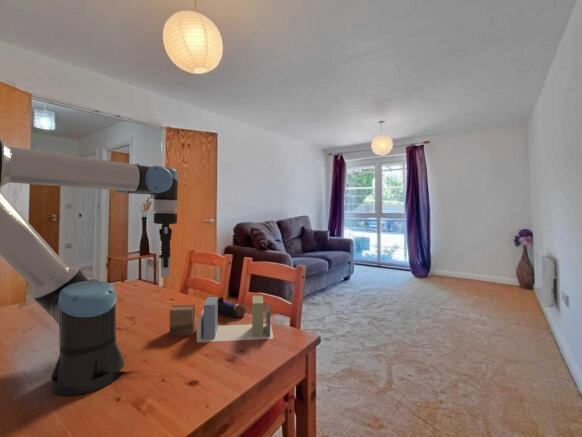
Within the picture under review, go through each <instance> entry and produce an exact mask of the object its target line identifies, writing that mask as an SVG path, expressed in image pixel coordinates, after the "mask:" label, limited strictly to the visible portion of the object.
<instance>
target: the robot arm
mask: <svg viewBox="0 0 582 437" xmlns="http://www.w3.org/2000/svg"><path fill="white" fill-rule="evenodd" d="M9 183H12V184H24V185H39V186H54V187H68V188H83V189H94V190H96V189H97V190H110V191H116V192H117V193H120V194H126V195H128V194H133V195H135V194H136V195H153V212H154V214H153V223H154V224H155V225H161V227H160V228H159V230H158V231H159V232H158V233H159V234H158V235H159V240H160V243H161V246H160V254H159V255H158V259H160V279H161V278H163V279H164V278H170V277H171V252H172V251H171V240H172V233H173V229H172V228H171V227H170V225H176V224H178V213H176V212H177V211H178V206H180V203H178V188H179V187H178V183H179V176H178V171H177V170H176V169H175V168H173V167H172V168H171V167H168V166H167V167H165V166H161V165H152V166H148V165H141V164H133V163H126V162H120V161H113V160H107V159H100V158H99V159H98V158H92V157H85V156H83V157H82V156H77V155H71V154H63V153H56V152H50V151H49V152H48V151H42V150H35V149H28V148H21V147H16V146H15V147H13V146H9V145H8V144H7V143H6V142H5V141H3V140H0V257H1V258H3V259H4V260H5V261H6V262H7V264H9V266H11V267H12V269H14V270H15V271H16V272H17V273H18V274H19V276H20V277H22V278H23V279H24V280H25V281H26V282H27V283H28V284H29V285H30V286H31V287H32V290H31V291H32V292H31V298H32V299H33V300H35V302H36V303H37V304H39V305H40V306H41V307H42V308H43V309H44V310H45V311H46V313H47V314H48V315H49V316H51V317H52V319H53V320H54V321H55V322H56V324H57V325H58V329H59V355H58V358H57V360H56V363H55V365H54V368H53V370H52V373H51V377H50V391H51V392H52V393H53V394H55V395H58V396H63V397H65V396H66V397H68V396H79V395H83V394H88V393H92V392H94V391H97V390H100V389H102V388H104V387H106V386H107V385H111V383H113V382H114V381H115V380H117V379H119V378H120V376H121V375H122V374H123V373H124V371H121V370H122V369H123V368H124V366H125V362H124V360H125V359H124V357H123V354H122V352H121V350H120V348H119V345H118V342H117V316H116V315H117V301H118V300H117V294H116V289H115V287H114V285H113V284H112V283H110V282H107V281H100V280H89V279H88V277H86V275H84V273H83V272H82V271H81V270H80V268H78V267H77V266H69V265H67V264H66V263H65V261H63V259H62V258H61V257H60V256H59V255H58V254H57V253H56V252H55V250H54V249H53V248H52V247H51V246H50V245H49V243H48V242H47V241H46V240H45V239H44V238H43V237H42V236H41V235H40V233H38V231H37V230H36V229H35V228H34V227H33V226H32V225H31V223H29V222H28V220H27V219H26V218H25V217H24V216H23V215H22V214H21V212H20V211H19V210H18V209H17V208H16V207H15V206H14V205H13V203H12V202H11V201H10V200H9V199H8V198H7V197H6V196H5V194H4V193H3V192H2V187H3V186H5V185H7V184H9Z"/></svg>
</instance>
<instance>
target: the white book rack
mask: <svg viewBox="0 0 582 437" xmlns="http://www.w3.org/2000/svg"><path fill="white" fill-rule="evenodd" d="M199 315H200V316H199V318H198V320H197V322H196V343H211V342H215V343H216V342H233V341H234V342H235V341H251V340H254V341H255V340H272V339H274V338H275V337H274V333H273V329H272V328H273V327H272V323H270V336H267V332H266V323H263V336H258V337H252V323H249V324H229V325H226V324H225V325H218V328H217V332H216V336H215V339H204V309H202V311H201V313H200V314H199Z"/></svg>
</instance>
